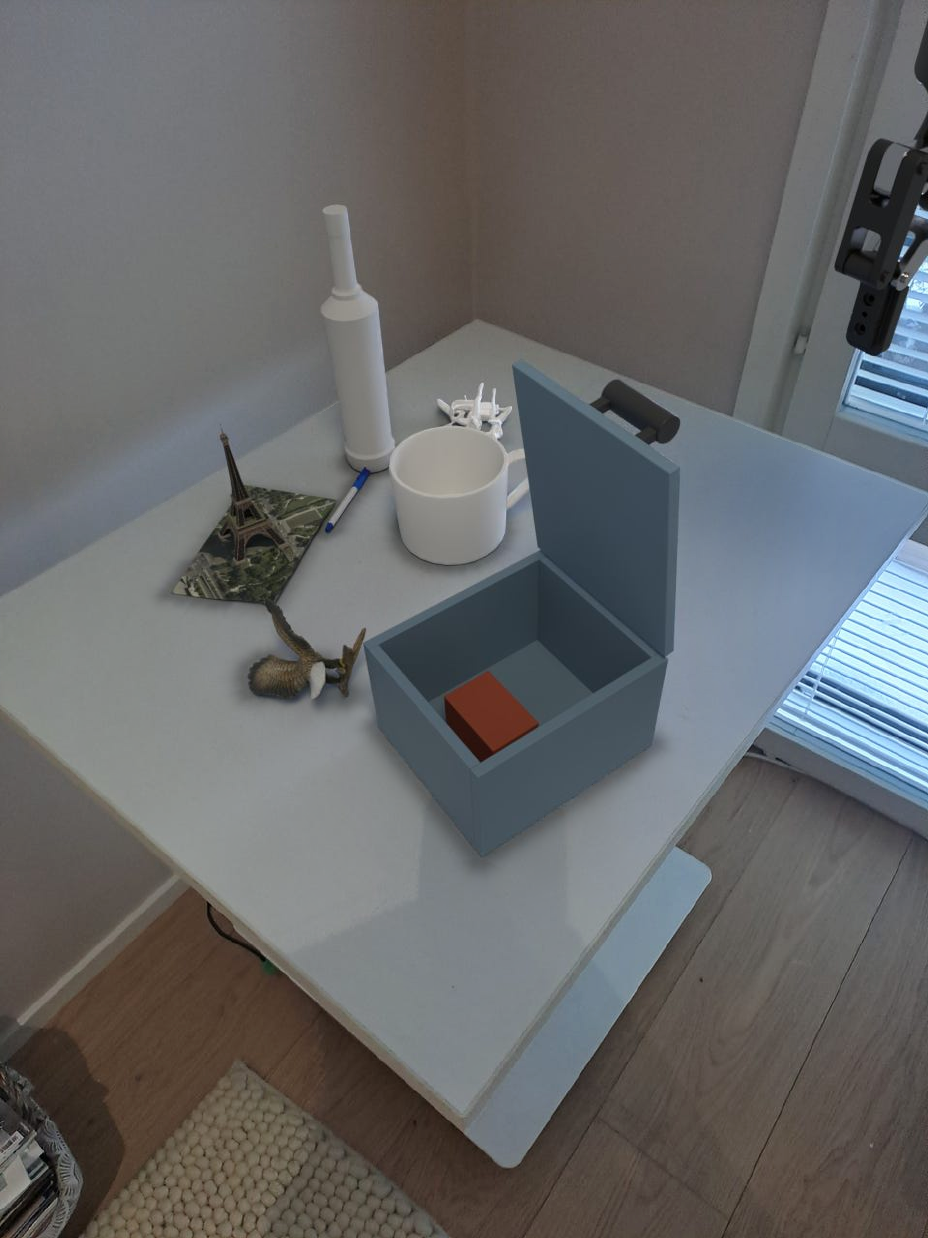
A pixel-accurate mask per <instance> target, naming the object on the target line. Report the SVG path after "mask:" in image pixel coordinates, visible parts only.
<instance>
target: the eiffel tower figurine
mask: <svg viewBox="0 0 928 1238" xmlns="http://www.w3.org/2000/svg"><path fill="white" fill-rule="evenodd" d="M219 427H220V430H221V434H220V435H219V440H220V441H221V443H222V447H223V451H224V455H225V460H226V466H227V469H228V475H229V479H230V480H229V481H230V487H231V493H230V495H229V497H230V498H231V504H230V506H229V507H228V509H227V510H226V512H225V513H224V515H223V516H222V517H221V519H220V520H219V522H218V523H217V524H216V525H215V527H214V528H213V530H212V531H211V533H210V534H209V536H208V537H207V539H206V540H205V541H204V543H203V544H202V546H201V547H200V549H199V550H198V552H197V553H196V555H195V556H194V558H193V559H192V561H191V563H190V564H189V565H188V567H187V569H185V572H184V573H183V575H182V576H181V577H180V579H179V581H178V582H177V584H176V585H175V587H174V588H173V590H172V591H171V594H174V595H181V596H182V595H183V596H190V597H196V598H205V599H211V600H212V599H215V600H226V601H227V600H228V601H245V602H254V603H255V602H256V603H263V604H264V599H265V598H267V597H268V598H269V599H271V600H272V601H273V602H274V603H276V601H277V599H278V597H279V596H280V594H281V592H282V591H283V590H284V587H285V586H286V585H287V583H288V581H289V579H290V578H291V577H292V574H293V573H294V571H295V569H296V567H297V566H298V564H299V562H300V560H301V558H302V556H303V555H304V553H305V552H306V549H308V547H309V544H310V543H311V541H312V539H313V537H314V536H315V534H316V533H317V531H318V530H319V528H320V526H321V525H322V523H323V521H324V520H325V518H326V517H327V515H328V514H329V512H330V511H331V510H332V508H333V506H335V503H336V502H337V499H333V498H327V497H322V496H315V495H310V494H309V495H308V494H302V493H296V492H290V491H286V490H285V491H284V490H278V489H273V488H265V487H260V486H254V485H247V484H244V482H243V480H242V477H241V475H240V474H241V473H240V471H239V469H238V466H237V464H236V461H235V458H234V455H233V452H232V450H231V446H230V443H229V441H230V439H229V437H228V435H227V433H224V430H223V428H222V424H221V423H219Z"/></svg>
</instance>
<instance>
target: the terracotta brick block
mask: <svg viewBox="0 0 928 1238" xmlns="http://www.w3.org/2000/svg"><path fill="white" fill-rule="evenodd" d="M444 703H445V714H446V723H447V725H448V726H449V727H450V728H451V729H452V730H453V732H454V733H455V734H456V735H457V736H458V737H459V738H460V740H461V741H462V742H463V743H464V744H465V745H466V747H467V748H468V749H469V750H470V751H471V752H472V754H473V755H474V756H475V757H476V758H477V759H478V760H479V762H480V763H481V762H483V761H484V760H486V759H488V758H489V757H491V756H492V755H494V754H496V753H497V752H499V751H501V750H502V749H504V748H505V747H507V746H509V745H510V744H512V743H514V742H515V741H517V740H518V739H520V738H522V737H523V736H525V735H527V734H528V733H530V732H531V731H533V730H535V729H536V728H538V727H539V723H538V722H537V721H536V719H535V718H534V717H533V716H532V715H531V714H530V713H529V712H528V711H527V710H526V709H525V708H524V707H523V706H522V705H521V704H520V703H519V702H518V701H517V700H516V699H515V698H514V697H513V696H512V695H511V694H510V693H509V691H508V690H507V689H506V688H505V687H504V686H503V685H502V684H501V683H500V682H499V681H498V680H497V679H496V678H495V677H494V676H493V675H492V674H491V673H490V672H489V671H487V672H485V673H483V674H481V675H480V676H478V677H476V678H475V679H473V680H471V681H469V682H468V683H466V684H464V685H462V686H461V687H459V688H457V689H455V690H454V691H452V692H450V693H448V694H447V695H445V696H444Z"/></svg>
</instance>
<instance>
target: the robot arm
mask: <svg viewBox="0 0 928 1238" xmlns="http://www.w3.org/2000/svg"><path fill="white" fill-rule="evenodd" d="M913 72H914V76H915V79H916V81H917V83H918V84H919V85H920V86H921V87H923V88H924V89H925V91H926V93H927V94H928V19H927V20H926V24H925V27H924V31H923V34H922V38H921V41H920V45H919V47H918V52H917V55H916V58H915V62H914V67H913ZM918 207H919V210H920V211H923V212H925V213H928V111H927V112H926V114H925V117H924V119H923V120H922V123H921V125H920V126H919V129H918V130H917V132H916V134H915V135H914V138H913V140H910V141H906V142H903V143H902V142H898V141H893V140H890V139H886V138H883V137H880V138H878V139H876V140H875V141H874V142H873V143H872V145H871V147H870V148H869V150H868V151H867V156H866V159H865V162H864V165H863V169H862V172H861V175H860V179H859V182H858V185H857V189H856V192H855V195H854V199H853V202H852V205H851V208H850V212H849V215H848V217H847V221H846V225H845V228H844V231H843V234H842V238H841V241H840V245H839V248H838V251H837V254H836V257H835V261H834V265H833V267H834V271H835V272H837V273H839V274H841V275H844V276H847V277H849V278H851V279H854V280H856V281H859V287H858V291H857V294H856V297H855V300H854V304H853V308H852V312H851V315H850V320H849V322H848V324H847V328H846V333H845V341H846V342H847V344H848V345H849V346H850V347H853V348H854V349H857V350H859V351H861V352H863V353H865V354H867V355H869V356H872V357H877V356H879V355H882V354H883V353H885V352H887V351H888V350H889V349H890V347H891V344H892V342H893V339H894V336H895V333H896V330H897V326H898V325H899V324H898V323H899V321H900V318H901V316H902V315H901V314H902V311H903V309H904V305H905V303H906V300H907V297H908V295H909V291H910V288H911V287H910V286H909V285H910V282H911V281H912V280H913V279H914V277H915V275H916V274H917V272H918V271H919V269H920V268H921V266H922V265H923V263H924V262H925V260H926V259H927V257H928V218H925V217H924V216H923V217H922V216H920V215H917V214H915V213H916V211H917V208H918ZM869 231H871V232H873V235H872V237H871V238H870V240H869V241H868V243H867V244H866V246H865V248H864V245H865V242H866V240H867V239H866V238H867V236H868V233H869ZM907 237H908V238H910V239H913V240H912V242H911V244H910V245H909V247H908V248H907V250H906V251H905V252H904V254H903V256H902V257H901V259H900V256H901V254H902V251H903V248H904V245H905V242H906V239H907ZM863 248H864V249H863Z"/></svg>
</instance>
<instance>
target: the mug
mask: <svg viewBox="0 0 928 1238" xmlns="http://www.w3.org/2000/svg"><path fill="white" fill-rule="evenodd" d="M486 432H487V431H483V430H482V429H481V430H477V429H474V428H470V427H466V426H463V425H452V426H449V425H448V426H445V425H443V426H436V427H431V428H426V429H424V430H421V431H418V432H416V433H412V434H411V435H409V436H408V437H406V438H405V439H404V440H402V441H401V442H400V443H399V444H398V445H397V446H395V449H394V452H393V454H392V456H391V458H390V460H389V467H388V472H389V478H390V484H391V489H392V495H393V501H394V507H395V512H396V517H397V522H398V528H399V534H400V538H401V540H402V543H403V546H405V548H407V550H408V551H409V552H410V553H411V554H413V555H414V556H416V557H417V558H418V559H420V560H423V561H426V562H429V563H431V564H437V565H442V566H443V565H444V566H455V565H456V566H458V565H464V564H469V563H473V562H476V561H478V560H480V559H483V558H485V557H487V556H488V555H490V554H491V553H493V552H494V551H495V550H496V549H497V548H498V547H499V545H500V544H501V543H502V542H503V540H504V538H505V534H506V532H507V531H506V530H507V529H506V526H507V510H509V509H511V508H512V507H514V506H515V505H516V504H517V502H519V501H520V500H521V499H522V498H523V496H525V495H526V494H527V493H528V492H530V489H529V482H528V475H527V476H526V477H525V478H524V479H523V480H522V481H521V482H520V483H519V485H518V486H516V487H515V488H514V489H513V491H511V492H510V493H509V494H508V489H509V467H510V466H511V465H514V464H515V463H518V462H520V461H525V454H524V448H516V449H514V450H512V451H510V452H507V450H506V448H505V447H504V445H503V443H501V442H500V441H499V439H496V438H495V437H493V436H491V435H489V434H487V433H486Z"/></svg>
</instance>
